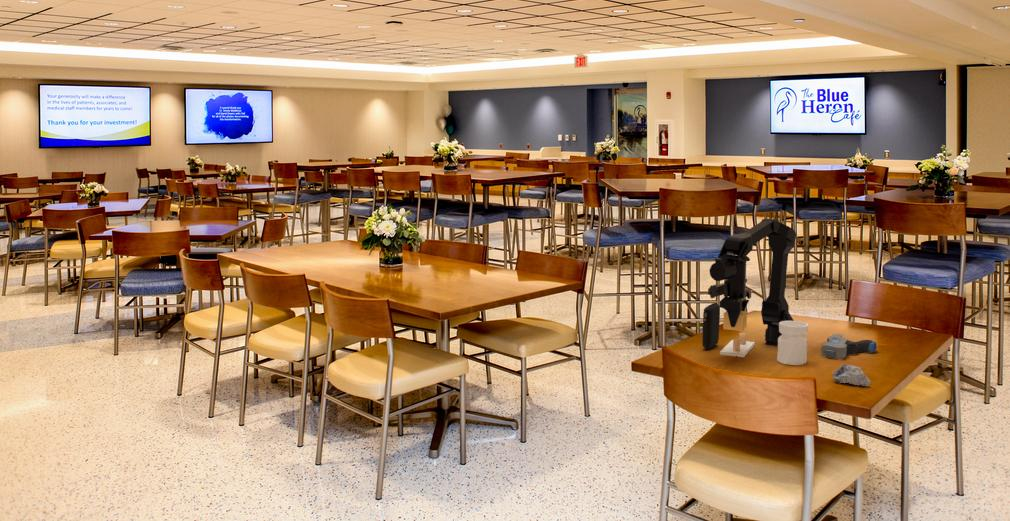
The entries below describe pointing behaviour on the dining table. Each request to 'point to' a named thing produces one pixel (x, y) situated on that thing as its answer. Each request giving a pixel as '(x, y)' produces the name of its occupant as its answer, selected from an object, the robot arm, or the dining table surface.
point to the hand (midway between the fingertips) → (735, 324)
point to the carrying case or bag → (711, 325)
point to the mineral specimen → (851, 375)
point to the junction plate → (737, 353)
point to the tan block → (739, 325)
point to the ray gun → (845, 347)
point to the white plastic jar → (792, 342)
